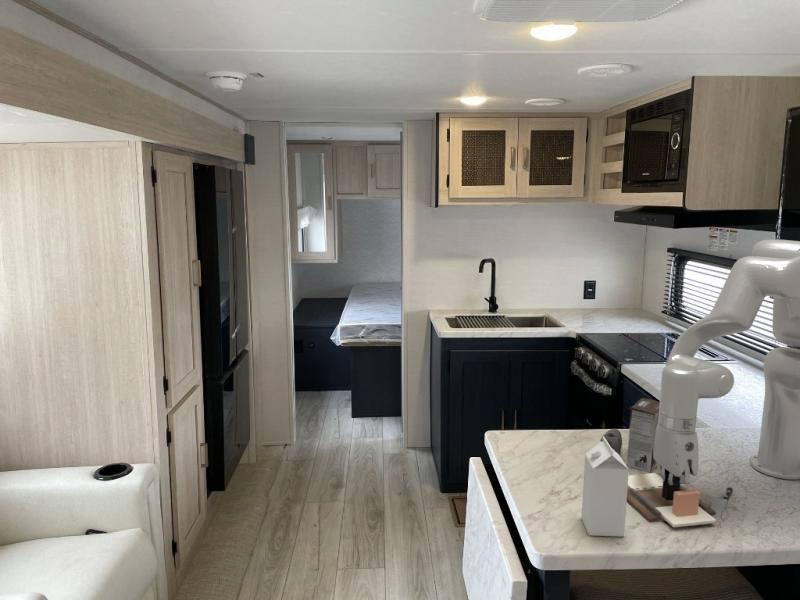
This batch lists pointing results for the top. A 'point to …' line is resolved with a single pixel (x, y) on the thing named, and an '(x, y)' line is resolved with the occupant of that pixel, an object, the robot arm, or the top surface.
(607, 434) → the perforated stone tool
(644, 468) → the coffee box
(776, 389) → the robot arm
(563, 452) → the top surface
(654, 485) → the ticket board
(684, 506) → the ticket stub
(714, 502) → the chef's knife
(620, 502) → the milk carton
